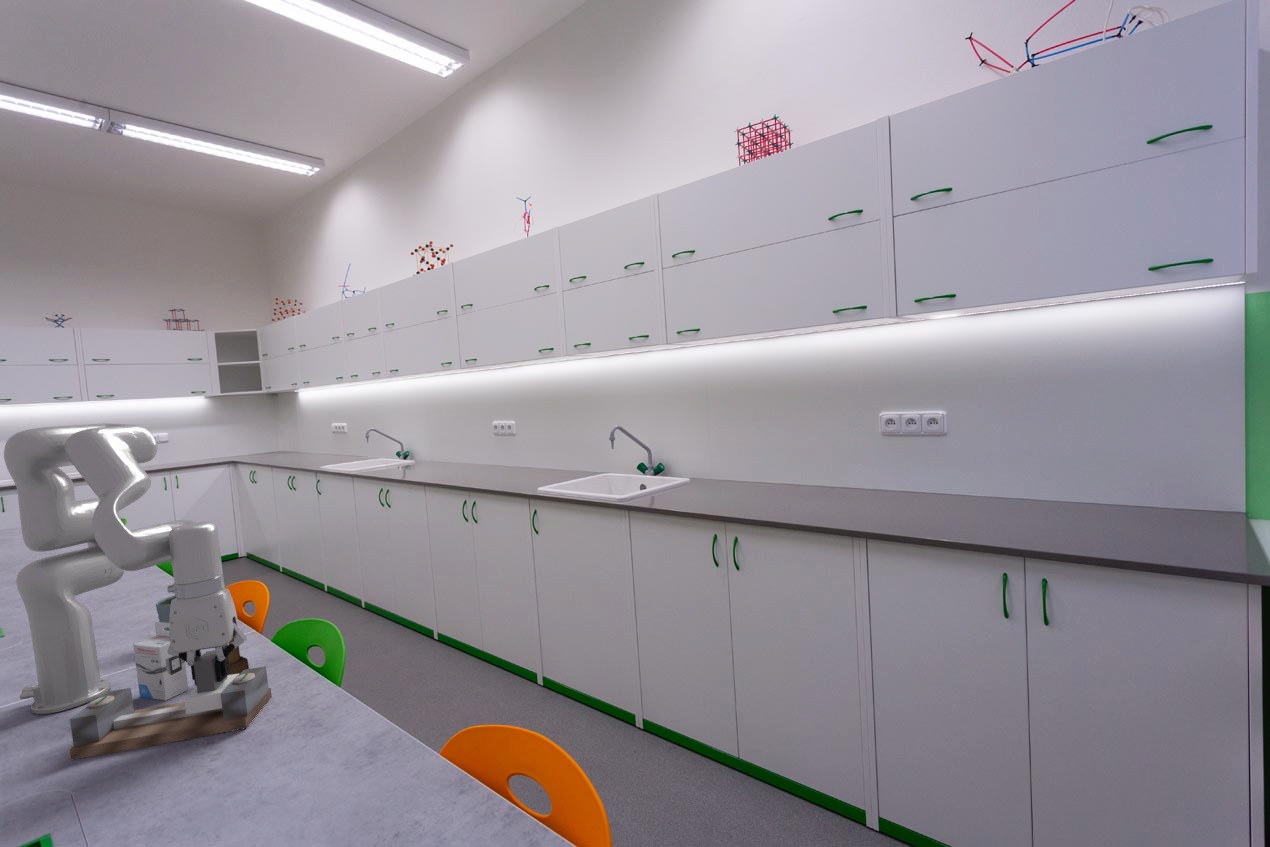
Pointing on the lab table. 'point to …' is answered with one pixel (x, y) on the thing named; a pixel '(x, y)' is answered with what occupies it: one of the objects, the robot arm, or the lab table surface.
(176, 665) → the ink box
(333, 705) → the lab table surface
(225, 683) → the carriage
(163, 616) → the blue-grey plant pot
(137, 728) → the rail stand
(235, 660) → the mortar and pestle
